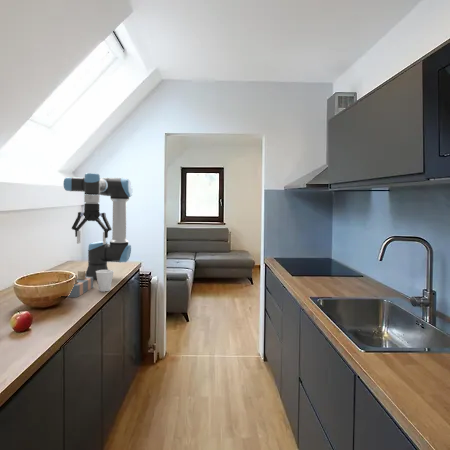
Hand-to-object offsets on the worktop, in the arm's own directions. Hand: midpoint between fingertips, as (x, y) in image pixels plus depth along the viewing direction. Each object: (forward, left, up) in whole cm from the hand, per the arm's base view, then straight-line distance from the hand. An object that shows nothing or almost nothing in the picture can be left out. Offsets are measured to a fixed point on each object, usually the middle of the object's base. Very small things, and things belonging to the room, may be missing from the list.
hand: (91, 243), depth 212 cm
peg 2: (-15, -11, -24) cm, 30 cm away
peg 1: (-3, -11, -24) cm, 26 cm away
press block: (-9, -11, -28) cm, 31 cm away
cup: (-14, +3, -28) cm, 32 cm away
